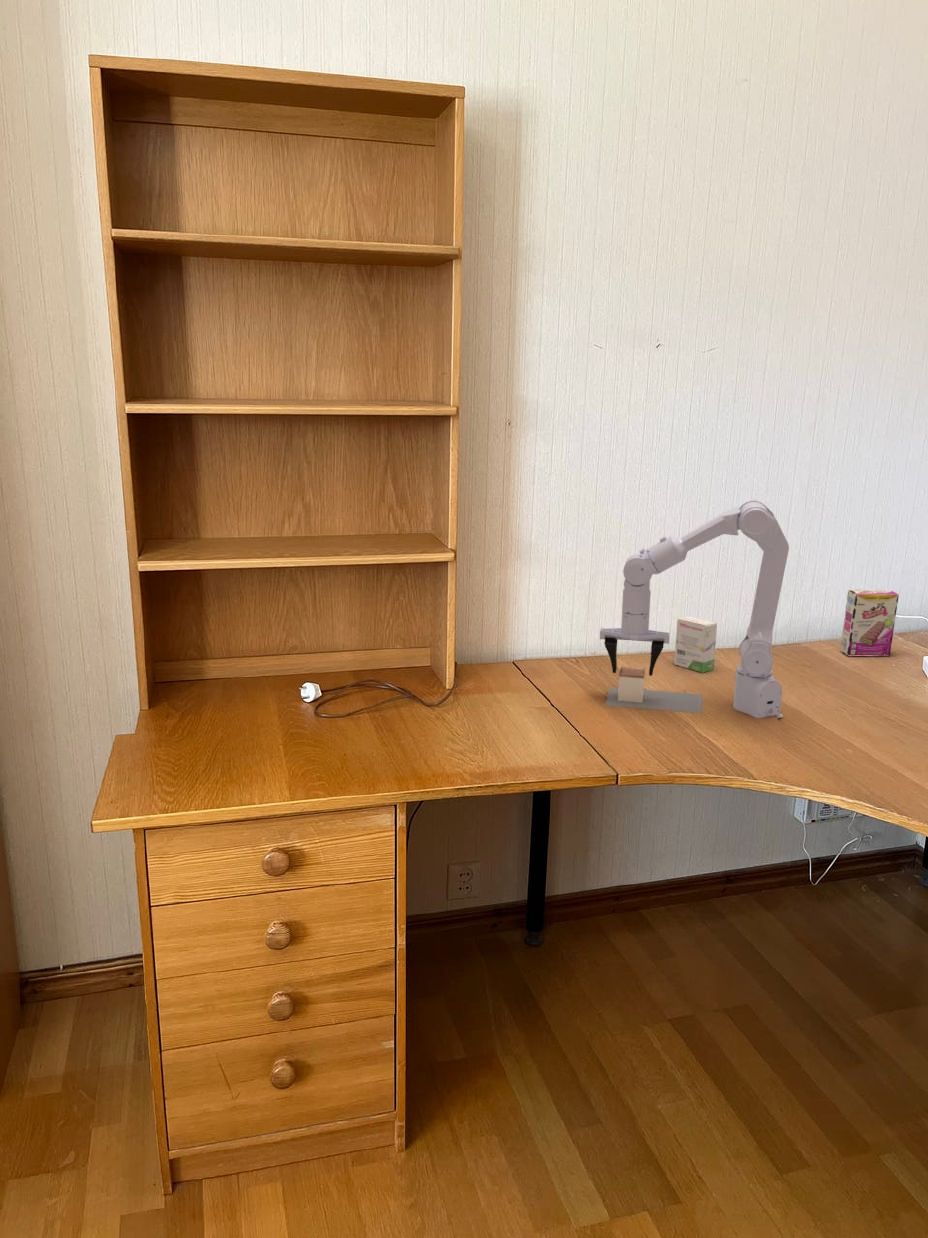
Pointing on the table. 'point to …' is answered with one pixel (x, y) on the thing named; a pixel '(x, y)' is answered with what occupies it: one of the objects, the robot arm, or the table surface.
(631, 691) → the peach bevelled cube
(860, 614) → the candy bar box
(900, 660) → the table surface
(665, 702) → the board
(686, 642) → the ink box
